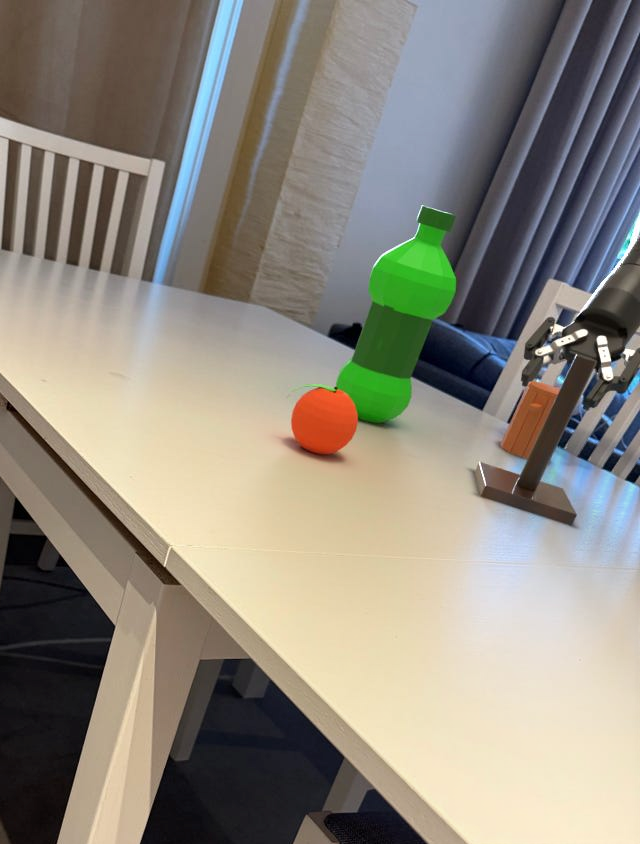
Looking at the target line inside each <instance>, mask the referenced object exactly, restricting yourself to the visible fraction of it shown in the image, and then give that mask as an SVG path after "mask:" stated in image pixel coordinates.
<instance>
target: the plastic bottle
mask: <svg viewBox="0 0 640 844" xmlns="http://www.w3.org/2000/svg"><path fill="white" fill-rule="evenodd" d="M456 218H457V215H455V214H452V213H449V212H445V211H442V210H440V209H439V210H438V209H435V208H432V207H428V206H426V205H421V207H420V209H419V212H418V215H417V217H416V221H415V222H416V223H418V224H419V225H418V228H417V231H416V234H415V235H414V237H413V238H411V239H409V240H406V241H404V242H402V243H400V244H398V245H396V246H394V247H392V248H391V249H389V250H387V251H386V252H384V253H382V254H381V255H380V256H379V257H378V258H377V260H376V261H375V263H374V264H373V267H372V269H371V273H370V276H369V281H368V287H367V288H368V289H367V290H368V293H369V296H370V298H371V303H370V306H369V309H368V312H367V315H366V317H365V320H364V323H363V327H362V329H361V332H360V334H359V337H358V340H357V343H356V346H355V349H354V352H353V355H352V357H351V358H349V360H347V362H346V363H345V364H344V365H343V366H342V368H341V369H340V370H339V373H338V375H337V378H336V383H335V387H338V390H341V391H343V392H345V393H346V394H347V395H348V396H349V397H350V398H351V400H352V401H353V403H354V404H355V407H356V410H357V415H358V420H359V419H360V420H362V421H365V422H371V423H374V424H383V422H388V421H391V420H393V419H395V418H397V417H398V416H400V415H402V414H403V413H404V411H405V410H406V409H407V408H408V407H409V404H410V401H411V399H412V379H411V378H412V375H413V373H414V370H415V367H416V366H417V363H418V360H419V358H420V354H421V352H422V350H423V347H424V344H425V341H426V339H427V337H428V335H429V332H430V329H431V326H432V323H433V321H435V320H436V319H437V318H439V317H441V316H442V315H444V314H445V313H446V312H447V310H448V308H449V307H450V305H451V304H452V302H453V299H454V297H455V294H456V289H457V278H456V276H455V273H454V271H453V268H452V265H451V263H450V261H449V259H448V257H447V255H446V252H445V251H444V249H443V247H442V243H443V240H444V237H445V233H446V232H449V233H451V231H452V229H453V226H454V223H455V220H456Z"/></svg>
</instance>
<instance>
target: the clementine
mask: <svg viewBox="0 0 640 844" xmlns="http://www.w3.org/2000/svg"><path fill="white" fill-rule="evenodd" d="M305 387H315V388H313V389H309V390H308V391H306V393H304V394H303V395H301V397H300V398H299V399H298V400H297V401H296V403H295V405H294V408H293V410H292V413H291V419H290V424H291V425H290V426H291V432H292V434H293V437H294V438H295V440H296V441H297V443H298V444H299V445H300V446H301V447H302V448H303V449H305V450H306V451H308V452H311V453H312V454H318V455H330V454H334V453H336V452H339V451H340V450H342V449H343V448H345V447H346V446H347V445H348V444H349V443H350V442H351V440H353V438H354V436H355V434H356V433H357V428H358V424H359V418H358V415H357V410H356V407H355V404H354V403H353V401H352V400H351V398H350V397H349V396H348V395H347V394H346V393H345V392H343V391H341V390H338V387H336V386H334V387H332V386H328V385H325V384H319V383H310V384H304V385H302V386H298V387H297V388H295V389H294V390H293V392H295V391H296V390H298V389H301V388H305ZM289 397H290V395H288V396H287V397H286V399H288V398H289Z"/></svg>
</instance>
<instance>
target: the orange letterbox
mask: <svg viewBox="0 0 640 844" xmlns="http://www.w3.org/2000/svg"><path fill="white" fill-rule="evenodd" d="M559 391H560V388H559V387H557V386H554V385H551V384H547V383H544V382H539V381H534V380H533V381H530V382H529V383H528V386H526V387H524V390H523V393H522V396H521V397H520V399H519V402H518V404H517V406H516V409H515V411H514V413H513V415H512V417H511V420H510V421H509V424H508V427H507V428H506V431H505V434H504V436H503V438H502V440H501V442H500V444H499V446H500V447H501V448H502V449H503V450H505V451H506V452H508V453H510V454H512V455H515V456H517V457H519V458H522V459H525V460H527V459H528V457H529V455H530V453H531V451H532V449H533V446H534V444H535V442H536V440H537V438H538V436H539V433H540V431H541V429H542V427H543V425H544V423H545V421H546V418H547V416H548V414H549V412H550V410H551V408H552V406H553V403H554V401H555V399H556V397H557V395H558V393H559Z"/></svg>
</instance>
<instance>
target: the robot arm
mask: <svg viewBox="0 0 640 844" xmlns="http://www.w3.org/2000/svg"><path fill="white" fill-rule="evenodd" d="M634 225H635V226H634V228H633V232H632V236H631V238H630V243H629V244H628V248H627V250H626V251H625V253H624V255H623V256H622V258H621V259H620V260H619V262H618V263H617V265H616V266H615V267H614V268H613V270H612V271H611V273H610V274H608V276H606V278H604V280H603V281H602V282H601V283H600V284H599V286H598V287H597V288H596V290H595V291H594V292H593V294H592V295H591V297H589V299H588V301H586V303H585V305H584V306H583V307H582V309H581V310H580V311H579V312H578V314H577V315H576V317H575V318H574V320H573V321H572V322H571V323H569V324H568V325H566V326H563V325H560V324H558V323H556V318H555V317H553V316H548V317H546V318H545V320H544V321H543V322H542V323H541V324H540V325H539V327H538V328H537V329H536V330H535V331H534V332H533V333H532V335H531V336H530V337H529V338H528V339H527V341H526V342H525V344H524V349H523V350H524V353H523V359H524V360H526V361H528V362H527V364H526V365H525V367H524V368H522V370H521V377H520V381H521V386H522V387H524V388H526V386H528V383H529V382H530V381H534V380H535V378H536V377H537V376H538V374H539V373H540V371H541V370H542V368H543V367H545V366H548V365H558V364H560V363H563V362H564V361H566V364H570V365H572V363H573V361H574V358H575V356H576V355H582V356H586V357H589V358H592V359H594V360H596V361H597V363H596V365H595V367H594V372H595V376H596V380H597V381H596V383H595V384H594V385H593V387H592V388H591V390H590V391H589V392H588V394H587V395H586V397H585V398H584V400H583V405H582V410H584V411H587V412H588V411H589V410H590V409H595V408H597V407H598V406H599V405H600V403H601V401H602V400H603V399H604V397H605V396H606V395H607V393H609V392H616V393H617V394H619V395H623V394H626V392H627V391H628V389H629V388H630V386H631V385H632V382H633V381H634V379H635V377H636V376H637V374H638V373H639V371H640V347H638V348H636V349H630V348H627V347H626V346H627V345H628V343H629V342H630V341H631V339H632V338H633V336H634V335H635V334H636V332H637V331H638V329H640V214H639V215H638V218H637V220H636V222H635V224H634ZM557 337H560V338H557ZM555 338H557V339H555ZM553 339H555V340H553ZM552 340H553V341H552ZM547 341H548V342H551V343H550V344H548V345H545V344H546V343H547ZM544 345H545V346H544ZM561 350H562V351H561ZM622 359H623V360H624V362H623V366H624V369H623V371H621V373H620V375H618V376H616V375H614V372H613V367H612V363H615V362H617V361H619V360H622Z"/></svg>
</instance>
